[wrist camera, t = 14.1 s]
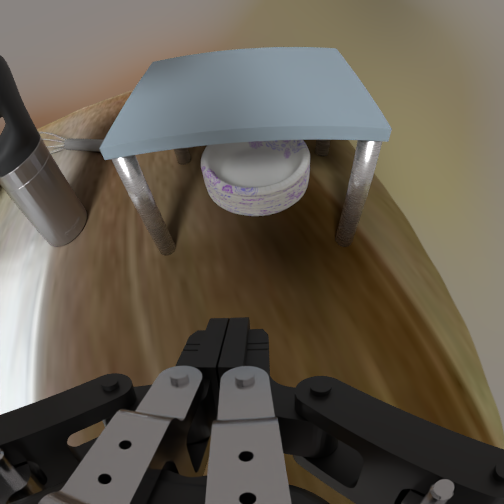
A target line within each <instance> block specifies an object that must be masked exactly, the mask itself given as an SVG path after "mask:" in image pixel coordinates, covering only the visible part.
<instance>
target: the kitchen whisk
mask: <svg viewBox="0 0 504 504" xmlns="http://www.w3.org/2000/svg"><path fill="white" fill-rule="evenodd" d="M41 133H45V132H41ZM41 133H39V134H41ZM46 133H47V132H46ZM47 134H49V133H47ZM50 135H52V133H50ZM55 135H56V134H54V135H53V136H55ZM57 136H58V135H57ZM57 136H56V137H57ZM59 138H60V136H59ZM62 138H63V137H61V139H62ZM45 140H52V139H45ZM63 140H64V138H63ZM52 141H55V140H52ZM57 141H58V142H61V141H60V140H57ZM103 141H104V140H100V139H65V141H62V142H63V143H64V145H59V146H64V149H66V150H83V151H99V152H101V151H100V149H99V148H100V147H101V145H102V143H103ZM49 147H55V146H49ZM59 148H61V149H62V150H63V148H62V147H59ZM58 150H59V151H61V150H60V149H58ZM55 151H57V150H55ZM52 152H53V151H52ZM57 152H58V151H57ZM54 153H56V152H54ZM51 154H53V153H51Z"/></svg>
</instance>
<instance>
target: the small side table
mask: <svg viewBox="0 0 504 504" xmlns="http://www.w3.org/2000/svg"><path fill="white" fill-rule="evenodd" d="M391 130H392V129H391V127H390V125H389V123H388V122H387V120H386V119H385V117H384V115H383V114H382V112H381V111H380V109H379V107H378V106H377V105H376V103H375V101H374V100H373V99H372V97H371V95H370V94H369V93H368V91H367V89H366V88H365V87H364V85H363V84H362V82H361V81H360V79H359V78H358V77H357V75H356V74H355V73H354V71H353V70H352V69H351V67H350V66H349V64H348V63H347V62H346V61H345V59H344V58H343V57H342V55H341V54H340V53H339V52H338V50H337V49H334V48H313V47H272V48H253V49H252V48H251V49H237V50H227V51H217V52H209V53H201V54H194V55H188V56H182V57H176V58H170V59H165V60H160V61H156V62H153V63H152V64H151V65H150V67H149V68H148V70H147V71H146V73H145V74H144V76H143V77H142V78H141V80H140V81H139V83H138V84H137V86H136V87H135V89H134V90H133V92H132V93H131V95H130V97H129V98H128V100H127V101H126V103H125V105H124V106H123V108H122V109H121V111H120V113H119V114H118V116H117V118H116V120H115V121H114V123H113V125H112V127H111V128H110V130H109V132H108V134H107V135H106V137H105V139H104V141H103V143H102V145H101V147H100V148H99V149H100V151H101V153H102V155H103V157H104V159H105V160H108V159H112V161H113V164H114V166H115V168H116V170H117V172H118V174H119V176H120V178H121V180H122V182H123V184H124V186H125V188H126V190H127V192H128V194H129V196H130V198H131V200H132V201H133V203H134V205H135V207H136V209H137V211H138V213H139V215H140V217H141V219H142V220H143V222H144V224H145V226H146V228H147V230H148V231H149V233H150V235H151V237H152V239H153V241H154V242H155V244H156V246H157V248H158V249H159V251H160V253H161V254H162V255H170V254H172V253H173V252H174V250H175V243H174V241H173V239H172V237H171V235H170V233H169V231H168V229H167V227H166V224H165V222H164V220H163V218H162V216H161V214H160V211H159V209H158V207H157V205H156V202H155V200H154V198H153V196H152V193H151V191H150V189H149V187H148V184H147V182H146V180H145V177H144V175H143V173H142V170H141V168H140V166H139V163H138V161H137V159H136V156H135V155H137V154H143V153H149V152H156V151H163V150H170V149H174V151H175V154H176V157H177V161H178V163H179V164H181V165H184V164H187V163H189V162H190V160H191V158H190V154H189V150H188V147H195V146H204V145H215V144H226V143H239V142H254V141H274V140H316V148H315V153H316V154H317V155H319V156H327V155H328V153H329V146H330V140H358V142H357V147H356V152H355V157H354V162H353V166H352V171H351V175H350V180H349V184H348V189H347V193H346V197H345V202H344V206H343V210H342V214H341V218H340V222H339V226H338V230H337V234H336V238H335V240H336V242H337V244H338V245H340V246H343V247H347V246H349V245H351V243H352V241H353V238H354V235H355V232H356V229H357V226H358V223H359V220H360V216H361V213H362V210H363V207H364V204H365V201H366V197H367V194H368V191H369V188H370V184H371V181H372V177H373V174H374V170H375V166H376V163H377V160H378V156H379V152H380V148H381V145H382V141H388V140H389V137H390V133H391Z"/></svg>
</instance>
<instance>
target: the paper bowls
mask: <svg viewBox="0 0 504 504" xmlns="http://www.w3.org/2000/svg"><path fill="white" fill-rule="evenodd" d="M201 170H202V174H203V177H204V180H205V185H206V188H207V190H208V193H209V195H210V197H211V198H212V200H213V201H214V202H215V203H216V204H217V205H219V206H220V207H222V208H223V209H225V210H227V211H230V212H232V213H235V214H240V215H247V216H264V215H270V214H275V213H278V212H280V211H282V210H284V209H287V208H289V207H290V206H292V205H293V204H295V203H296V202H297V201H298V200H299V199H300V198H301V197H302V196H303V195H304V193H305V191H306V189H307V186H308V181H309V172H310V153H309V149H308V147H307V145H306V143H305V142H304V141H303V140H274V141H254V142H239V143H226V144H215V145H207V147H206V148H205V150H204V152H203V154H202V158H201Z"/></svg>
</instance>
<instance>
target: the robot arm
mask: <svg viewBox="0 0 504 504" xmlns="http://www.w3.org/2000/svg"><path fill="white" fill-rule="evenodd" d="M1 117H3V118H4V120H5V123H6V125H5V127H4V129H3V131H2V133H1V135H0V185H1V186H2V187H3V189H4V190H5V191H6V192H7V194H8V195H9V196H10V198H11V199H12V200H13V201H14V203H15V204H16V205H17V206H18V208H19V209H20V210H21V211H22V213H23V214H24V215H25V216H26V217H27V219H28V220H29V221H30V222H31V223H32V225H33V226H34V227H35V228H36V229H37V231H38V232H39V233H40V234H41V235H42V236H43V237H44V239H45V240H46V241H47V242H48V243H49V244H50V245H52V246H55V247H59V246H63V245H65V244H67V243H69V242H71V241H72V240H73V239H74V238H76V237H77V235H78V234H79V233H80V232H81V230H82V229H83V227H84V225H85V223H86V220H87V212H86V209H85V208H84V206H83V205H82V203H81V202H80V200H79V199H78V197H77V196H76V194H75V193H74V191H73V189H72V188H71V186H70V185H69V183H68V182H67V180H66V178H65V177H64V175H63V174H62V172H61V170H60V169H59V167H58V165H57V164H56V162H55V161H54V159H53V157H52V155H51V154H50V152H49V150H48V149H47V147H46V145H45V144H44V142H43V140H42V138H41V136H40V135H39V133H38V131H37V129H36V127H35V125H34V124H33V122H32V120H31V118H30V116H29V114H28V112H27V110H26V108H25V106H24V103H23V101H22V99H21V96H20V94H19V92H18V89H17V86H16V84H15V81H14V78H13V76H12V73H11V71H10V68H9V67H8V65H7V63H6V61H5V60H4V58H3V57H2V56H0V118H1ZM100 421H103V423H104V425H105V429H104V430H103V432H102V433H101V435H100V436H99V437H97V438H95V439H93V440H91V441H88V442H86V443H84V444H82V445H80V446H77V447H72V446H69V445H68V444H67V440H68V438H69V436H70V435H71V434H73V433H75V432H78V431H80V430H82V429H85V428H87V427H89V426H91V425H93V424H96V423H98V422H100ZM283 453H285V454H291V455H293V457H294V460H295V461H296V462H297V463H298V464H299V465H301V466H302V467H303V468H305V469H306V470H307V471H309V472H310V473H311V474H313V475H314V476H316V477H317V478H318V479H320V480H321V481H323V482H324V483H326V484H327V485H328V486H330V487H331V488H333V489H334V490H336V491H337V492H339V493H340V494H342V495H343V496H345V497H347V498H348V499H350V500H351V501H353V502H354V503H356V504H504V450H503V449H500V448H497V447H494V446H492V445H489V444H486V443H483V442H480V441H477V440H475V439H472V438H469V437H466V436H464V435H461V434H459V433H456V432H453V431H451V430H448V429H446V428H443V427H441V426H438V425H436V424H433V423H431V422H429V421H426V420H424V419H421V418H419V417H417V416H414V415H412V414H410V413H407V412H405V411H403V410H401V409H398V408H396V407H394V406H392V405H389V404H387V403H385V402H383V401H381V400H379V399H376V398H374V397H372V396H370V395H368V394H366V393H364V392H362V391H359V390H357V389H355V388H353V387H351V386H349V385H347V384H345V383H343V382H341V381H339V380H337V379H335V378H332V377H327V376H315V377H310V378H307V379H305V380H303V381H301V382H300V383H299V384H298V385H297V386H296V388H293V387H287V386H283V385H280V384H278V383H276V382H275V381H274V380H272V378H271V377H270V365H269V340H268V334H267V333H266V332H265V331H264V330H263V329H251V330H250V321H249V317H247V318H230V319H229V318H211V319H210V320H209V323H208V325H207V328H206V330H203V331H196V332H195V333H194V334H192V335H191V336H190V337H189V338H188V341H187V343H186V345H185V347H184V349H183V351H182V353H181V355H180V357H179V360H178V362H177V364H176V366H175V367H171V368H168V369H166V370H164V371H163V372H161V373H160V374H159V376H158V377H157V379H156V380H155V382H154V383H153V385H147V386H138V387H133V384H132V381H131V379H130V378H129V377H128V376H126V375H123V374H107V375H104V376H101V377H99V378H96V379H94V380H91V381H89V382H86V383H84V384H81V385H79V386H76V387H74V388H71V389H69V390H66V391H64V392H61V393H59V394H56V395H54V396H51V397H48V398H46V399H43V400H40V401H38V402H35V403H32V404H30V405H27V406H24V407H21V408H19V409H16V410H13V411H10V412H7V413H4V414H2V415H0V504H329V503H328V502H327V501H325V500H324V499H322V498H321V497H319V496H317V495H316V494H314V493H312V492H309V491H307V490H305V489H302V488H299V487H296V486H293V485H288V479H287V473H286V467H285V461H284V455H283ZM208 458H209V464H208V475H207V476H203V474H204V471H205V468H206V464H207V461H208Z"/></svg>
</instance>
